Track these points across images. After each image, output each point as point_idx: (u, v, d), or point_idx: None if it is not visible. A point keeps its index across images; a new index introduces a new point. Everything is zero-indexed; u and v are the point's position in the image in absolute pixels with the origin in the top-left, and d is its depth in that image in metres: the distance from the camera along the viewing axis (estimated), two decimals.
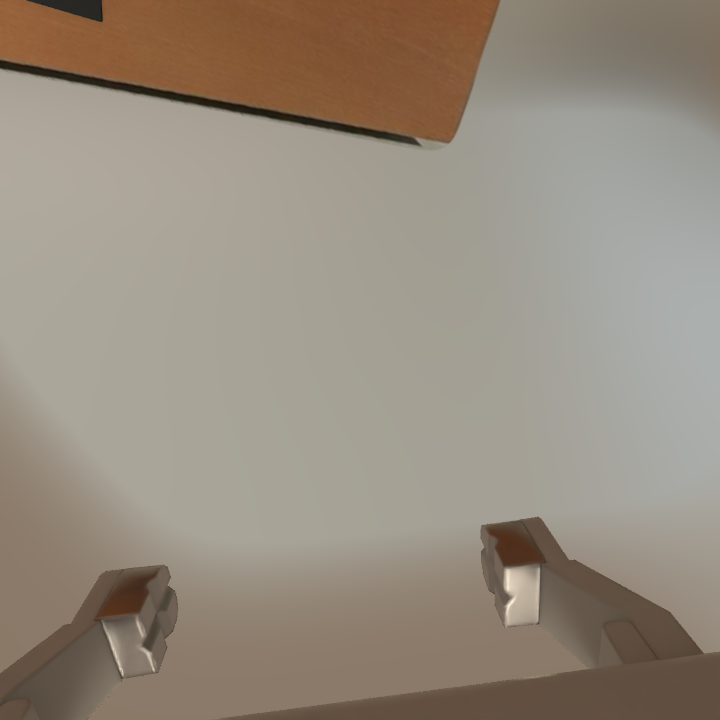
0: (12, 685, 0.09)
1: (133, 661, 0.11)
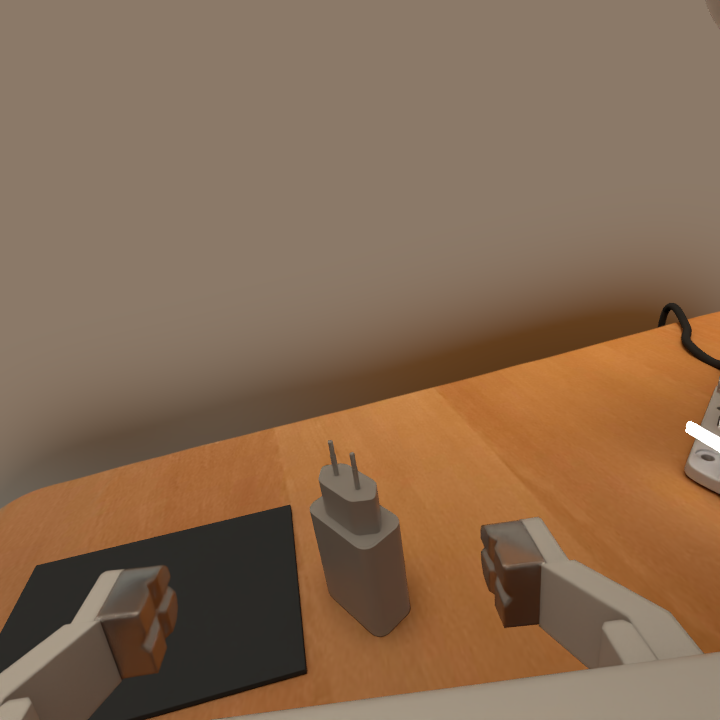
0: (12, 685, 0.09)
1: (133, 661, 0.11)
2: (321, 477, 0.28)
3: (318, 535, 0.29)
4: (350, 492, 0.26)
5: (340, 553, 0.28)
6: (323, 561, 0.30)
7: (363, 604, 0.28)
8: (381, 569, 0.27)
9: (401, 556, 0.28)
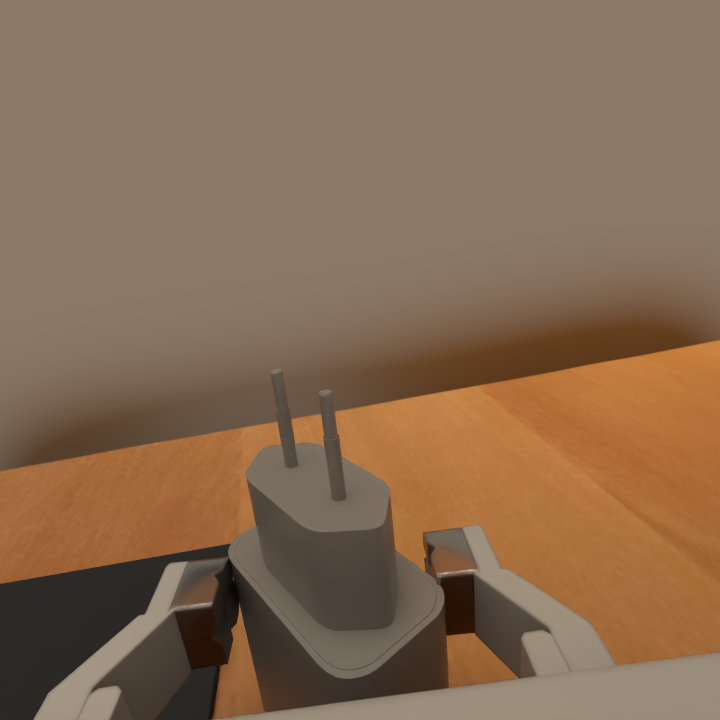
0: (98, 674, 0.09)
1: (204, 652, 0.11)
2: (254, 469, 0.11)
3: (245, 615, 0.12)
4: (318, 508, 0.10)
5: (287, 670, 0.11)
6: (257, 676, 0.13)
7: None
8: None
9: None
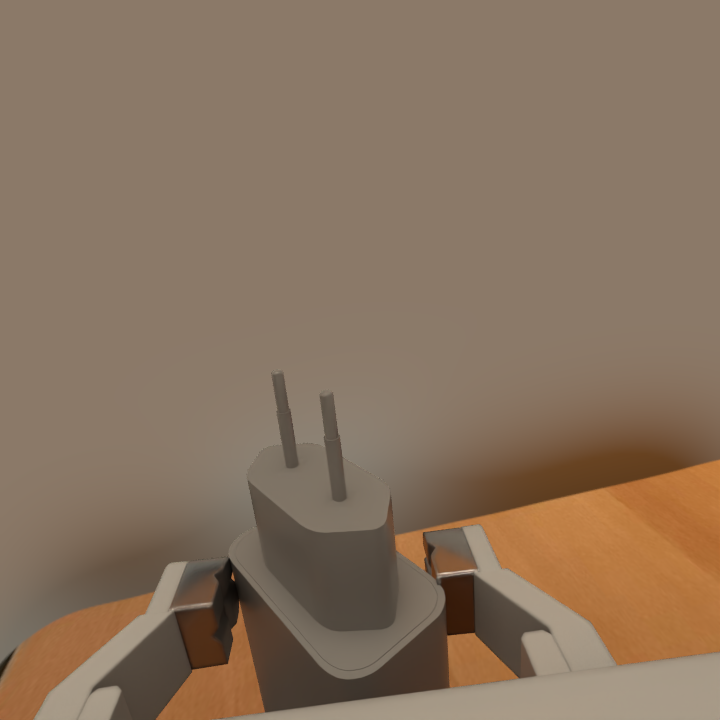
0: (98, 674, 0.09)
1: (204, 652, 0.11)
2: (254, 469, 0.11)
3: (245, 615, 0.12)
4: (319, 508, 0.10)
5: (288, 671, 0.11)
6: (258, 676, 0.13)
7: None
8: None
9: None
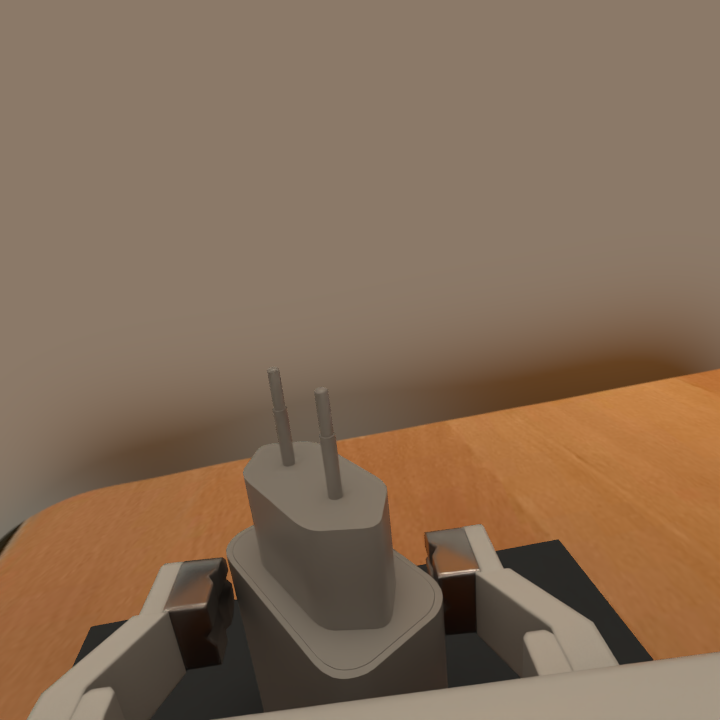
0: (91, 675, 0.09)
1: (198, 653, 0.11)
2: (251, 467, 0.11)
3: (243, 614, 0.12)
4: (315, 506, 0.10)
5: (285, 671, 0.11)
6: (256, 675, 0.13)
7: None
8: None
9: None
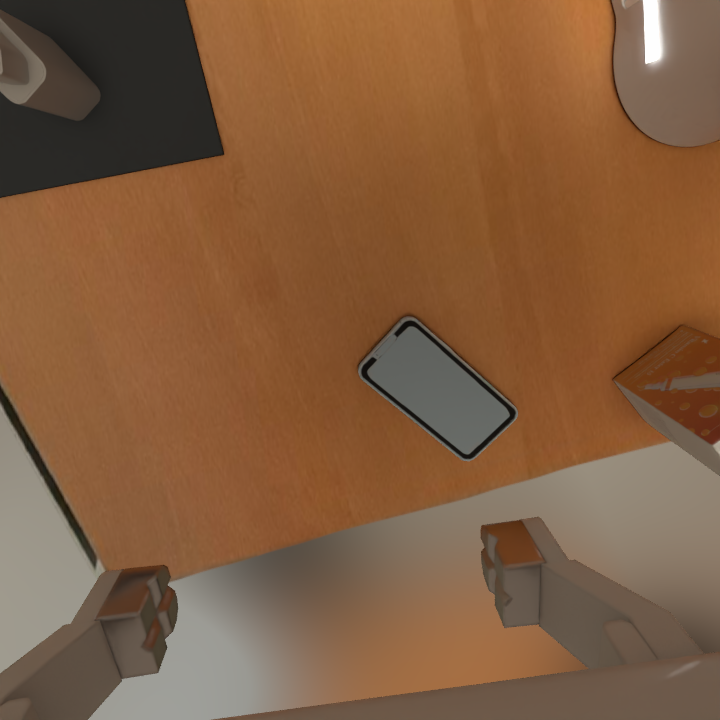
0: (12, 685, 0.09)
1: (133, 661, 0.11)
2: None
3: None
4: None
5: None
6: None
7: None
8: (46, 104, 0.31)
9: (66, 86, 0.31)
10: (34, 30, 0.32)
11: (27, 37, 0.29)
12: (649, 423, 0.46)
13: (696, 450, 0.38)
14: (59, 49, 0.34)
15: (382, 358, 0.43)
